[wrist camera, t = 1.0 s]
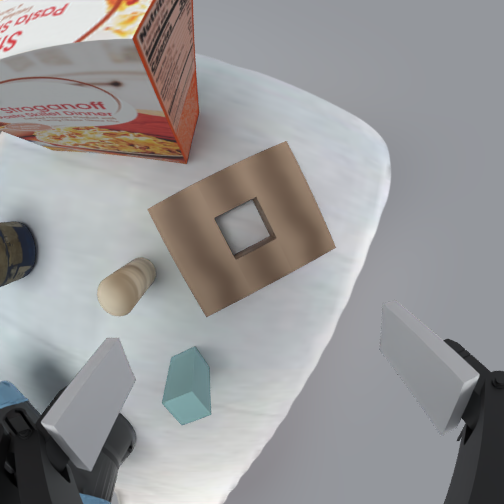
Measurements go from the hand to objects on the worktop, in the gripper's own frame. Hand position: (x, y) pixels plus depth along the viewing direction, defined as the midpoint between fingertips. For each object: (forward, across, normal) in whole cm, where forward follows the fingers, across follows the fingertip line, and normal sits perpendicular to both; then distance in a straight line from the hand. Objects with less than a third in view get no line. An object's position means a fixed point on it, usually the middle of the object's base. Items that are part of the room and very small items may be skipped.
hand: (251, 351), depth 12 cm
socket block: (+28, +1, -2) cm, 28 cm away
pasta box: (+27, +16, -20) cm, 37 cm away
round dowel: (+25, +16, +2) cm, 30 cm away
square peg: (+25, +12, +17) cm, 33 cm away
